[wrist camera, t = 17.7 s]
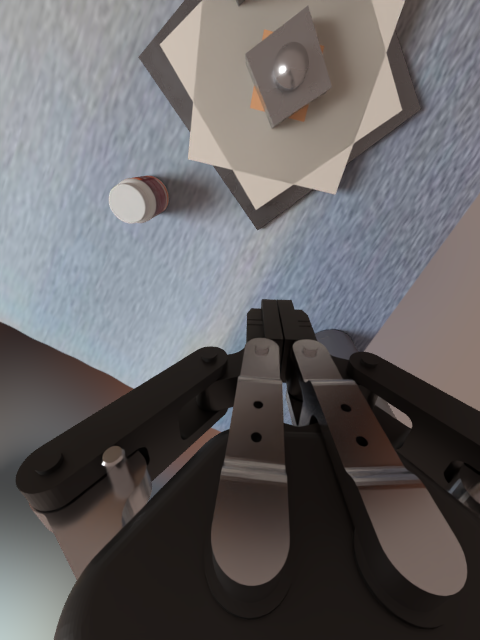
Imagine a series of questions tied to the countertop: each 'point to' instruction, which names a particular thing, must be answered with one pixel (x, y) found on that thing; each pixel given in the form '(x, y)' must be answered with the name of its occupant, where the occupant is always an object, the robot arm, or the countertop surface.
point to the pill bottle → (138, 199)
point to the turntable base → (183, 106)
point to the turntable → (307, 124)
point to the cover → (288, 68)
